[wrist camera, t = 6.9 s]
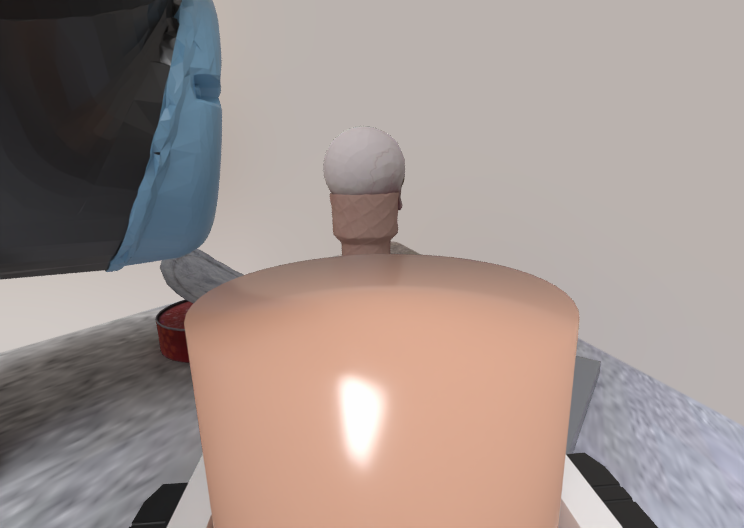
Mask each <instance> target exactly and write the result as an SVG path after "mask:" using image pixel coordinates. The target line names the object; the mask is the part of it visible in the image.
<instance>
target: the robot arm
mask: <svg viewBox="0 0 744 528" xmlns="http://www.w3.org/2000/svg"><path fill="white" fill-rule="evenodd" d="M220 75H221V47H220V34H219V25H218V18H217V14H216V10H215V7H214V4H213V1H212V0H0V279H11V278H20V277H21V278H22V277H33V276H45V275H56V274H66V273H78V272H90V271H101V270H105V271H106V272H112V271H118V270H120V269H122V268H123V267H124V266H127V265H134V264H140V263H147V262H153V261H160V260H167V259H173V258H179V257H182V256H184V255H187V254H189V253H191V252H192V251H193V250H195V249H197V248H198V247H200V246H201V245H202V244H203V243H204V241H205V240H206V238H207V237H208V235H209V233H210V231H211V228H212V225H213V221H214V217H215V212H216V206H217V199H218V190H219V179H220V164H221V163H220V162H221V143H222V109H221V104H220V101H219V98H218V97H219V95H220V93H221V92H220V91H221V85H220ZM129 528H214V527H213V520H212V513H211V506H210V499H209V492H208V485H207V478H206V471H205V465H204V458H203V454H202V456H201V458H200V460H199V463H198V465H197V467H196V469H195V471H194V473H193V475H192V477H191V479H190V481H189V483H175V484H163V485H162V486H161V487H160V488H159V489H158V490H157V491H156V492H154V493H153V494H152V495H151V496H150V497H149V498H148V499H147V500H146V501H145V502H144V503H143V505H142V507H141V508H140V510H139V512H138V513H137V515H136V517H135V518H134V520H133V522H132V526H131V527H129ZM558 528H658V527H657V526H656V525H655V524H654V522H653V521H652V520H651V519H650V518H649V517H648V516H647V514H646V513H645V512H644V511H643V510H642V509H641V508H640V506H639V505H638V504H637V503H636V502H633V500H632V497H631V496H630V495H629V494H628V493H627V492H626V490H625V489H624V488H623V487H620V484H619V482H618V481H617V480H616V479H615V478H614V477H613V476H612V474H611V473H610V472H609V471H608V470H607V469H606V468H605V466H603V465H602V464H600V463H599V462H597V461H596V460H594V459H593V458H591V457H590V456H588V455H587V454H586V453H574V454H566V455H565V465H564V475H563V485H562V494H561V504H560V514H559V524H558Z"/></svg>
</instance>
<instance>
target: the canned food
mask: <svg viewBox="0 0 744 528" xmlns="http://www.w3.org/2000/svg"><path fill="white" fill-rule="evenodd" d="M160 269H161V272H162V274H163V276H164V279H165V280H166V283H167V285H168V286H170V287H171V288H172V289H173V290H174V291H175V292H176V293H177V294H178V295H180V296H181V297H183V298H184V299H185V300H182V301H179V302H177V303H174V304H172V305H170V306H168V307H166V308H164V309H163V310H161V311H160V312H159V313H158V314H157V316H156V324H157V330H158V336H159V342H160V348H161V352H162V354H163V355H164V356H165V357H166V358H168V359H171V360H173V361H178V362H185V363H190V361H189V354H188V347H187V340H186V333H185V326H184V321H185V317H186V313H187V312H188V310H189V309H190V307H191V306H192V305H193V304H194V303H195V302H196V301H197V300H198V299H199V298H200V297H201V296H203V295H204V294H206V293H207V292H209V291H210V290H212V289H214V288H216V287H217V286H219V285H221V284H223V283H226V282H228V281H230V280H233V279H235V278H238V277H241V276H243V274H241V273H239V272H237V271H235V270H233V269H231V268H230V267H228V266H227V265H225V264H223V263H221V262H219V261H217V260H215V259H214V258H212V257H211V256H209V255H208V254H206V253H204V252H203V251H201V250H199V249H195V250H193V251H192V252H191V253H189V254H187V255H184V256H182V257H179V258H173V259H167V260H162V262H161V265H160Z"/></svg>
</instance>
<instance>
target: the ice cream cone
mask: <svg viewBox="0 0 744 528" xmlns="http://www.w3.org/2000/svg"><path fill="white" fill-rule="evenodd" d="M323 170H324V178H325V181H326V184H327V186H328V188H329V190H330V191H331V193H330V201H331V205H332V217H333V233H334V235H335V236H336V238H337V239H338V240H340V241H341V243H342V256H351V255H369V254H390V240H391V239H392V238H393V237H394V236H395V235H396V234H397V233H398V224H397V216H398V210H401V208H402V202H401V198H400V195H401V187H402V185H403V182H404V177H405V160H404V157H403V154H402V152H401V150H400V147H399V145H398V143H397V142H396V141H395V140H394V139H393V138H392V137H391V136H390V135H389V134H387V133H385V132H384V131H382V130H379V129H377V128H374V127H369V126H358V127H353V128H350V129H348V130H346V131H344V132H342V133H341V134H340V135H338V136H337V137H336V138H335V139H334V140H333V142H332V143H331V145H330V146H329V148H328V150H327V151H326V154H325V158H324V164H323Z"/></svg>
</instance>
